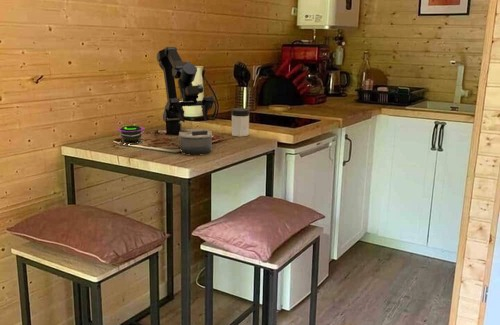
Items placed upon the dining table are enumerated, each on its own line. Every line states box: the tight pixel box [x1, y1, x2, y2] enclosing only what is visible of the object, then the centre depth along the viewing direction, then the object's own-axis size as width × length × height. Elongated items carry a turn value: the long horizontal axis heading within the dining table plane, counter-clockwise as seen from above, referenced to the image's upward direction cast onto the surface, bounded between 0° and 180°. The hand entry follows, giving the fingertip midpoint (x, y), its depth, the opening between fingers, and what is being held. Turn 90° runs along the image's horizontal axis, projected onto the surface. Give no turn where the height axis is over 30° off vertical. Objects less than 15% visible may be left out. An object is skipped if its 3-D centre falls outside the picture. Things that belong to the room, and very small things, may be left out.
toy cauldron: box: [117, 119, 145, 146], centre depth 212 cm, size 15×15×11 cm
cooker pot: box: [178, 135, 213, 156], centre depth 204 cm, size 14×13×6 cm
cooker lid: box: [178, 128, 213, 139], centre depth 202 cm, size 13×13×3 cm
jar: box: [231, 107, 250, 138], centre depth 234 cm, size 9×8×12 cm
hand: (195, 120), depth 201 cm, fingers open, 9 cm apart
